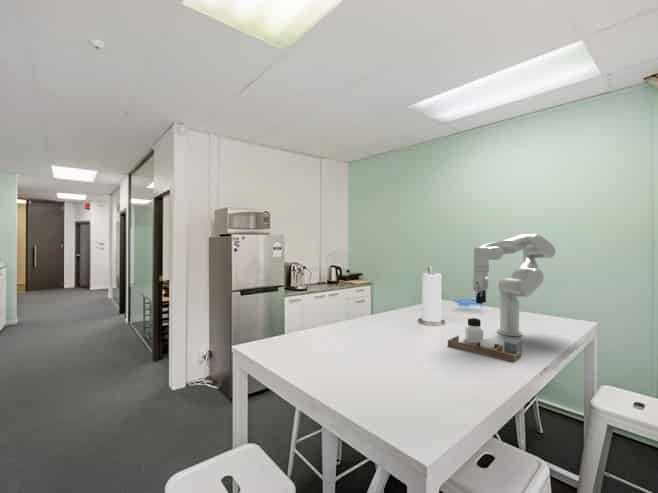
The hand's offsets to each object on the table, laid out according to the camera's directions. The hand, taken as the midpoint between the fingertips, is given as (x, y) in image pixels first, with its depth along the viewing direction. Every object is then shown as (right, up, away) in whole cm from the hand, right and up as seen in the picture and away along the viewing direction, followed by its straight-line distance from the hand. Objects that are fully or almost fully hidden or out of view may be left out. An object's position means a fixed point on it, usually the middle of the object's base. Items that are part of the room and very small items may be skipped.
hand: (481, 302), depth 172 cm
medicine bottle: (-7, -20, -6) cm, 22 cm away
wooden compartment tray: (-9, -20, -21) cm, 30 cm away
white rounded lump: (-8, -20, -22) cm, 30 cm away
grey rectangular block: (+5, -20, -22) cm, 30 cm away
